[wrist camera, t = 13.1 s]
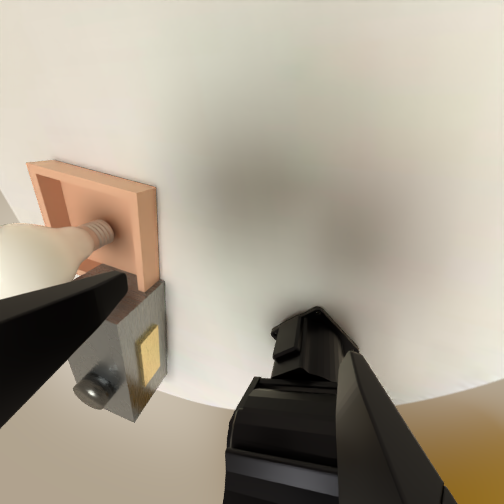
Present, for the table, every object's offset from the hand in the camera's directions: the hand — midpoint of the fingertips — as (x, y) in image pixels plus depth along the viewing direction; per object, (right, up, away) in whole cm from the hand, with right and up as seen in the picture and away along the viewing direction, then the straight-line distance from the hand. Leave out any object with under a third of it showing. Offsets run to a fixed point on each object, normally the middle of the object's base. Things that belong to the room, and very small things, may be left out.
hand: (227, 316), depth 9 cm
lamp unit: (-14, -7, +22) cm, 28 cm away
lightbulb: (-14, +5, +16) cm, 22 cm away
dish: (-14, +5, +16) cm, 22 cm away
